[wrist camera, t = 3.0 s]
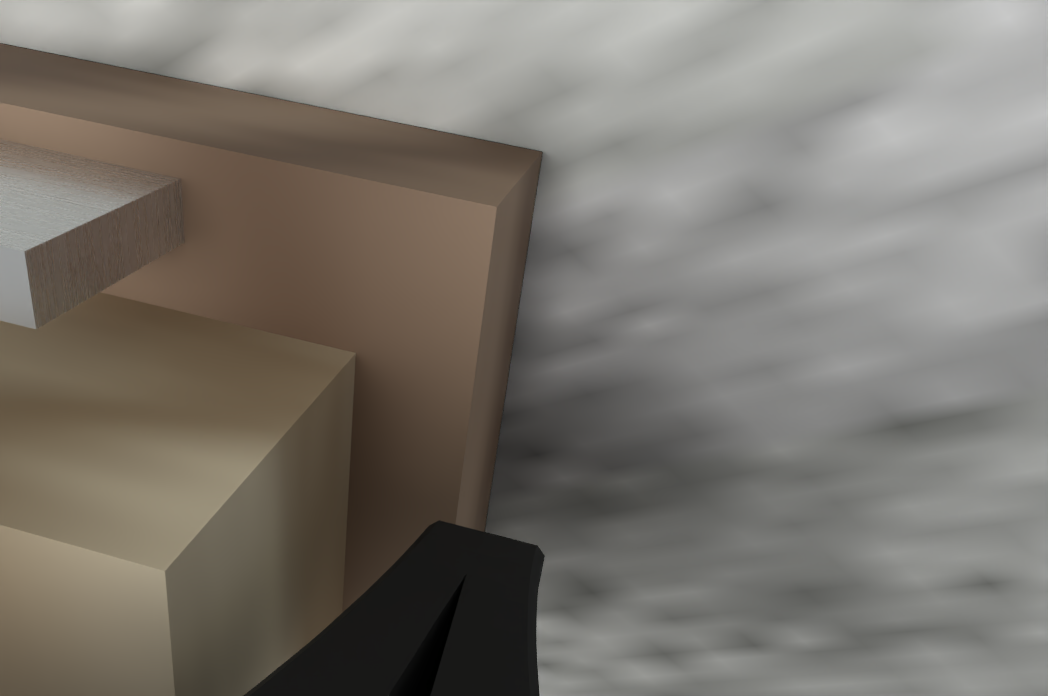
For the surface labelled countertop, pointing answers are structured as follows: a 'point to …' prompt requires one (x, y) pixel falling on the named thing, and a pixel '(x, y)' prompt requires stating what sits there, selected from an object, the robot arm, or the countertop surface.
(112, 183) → the channel walls
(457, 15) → the countertop surface
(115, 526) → the maple block
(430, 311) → the board
